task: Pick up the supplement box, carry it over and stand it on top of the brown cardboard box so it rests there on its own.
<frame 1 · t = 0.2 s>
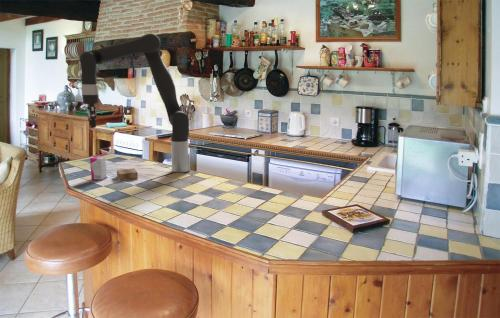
hand: (92, 126, 204), 27 cm above the counter, fingers open, 8 cm apart
supplement box: (99, 179, 210), on the counter
brown cardboard box: (127, 178, 213), on the counter
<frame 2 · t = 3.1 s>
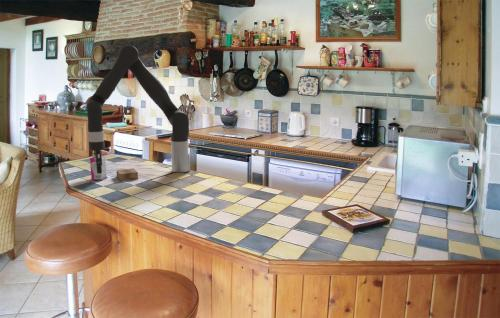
hand: (98, 171, 210), 4 cm above the counter, fingers closed on supplement box, 7 cm apart
supplement box: (99, 179, 210), on the counter, touching gripper
everything else where it was.
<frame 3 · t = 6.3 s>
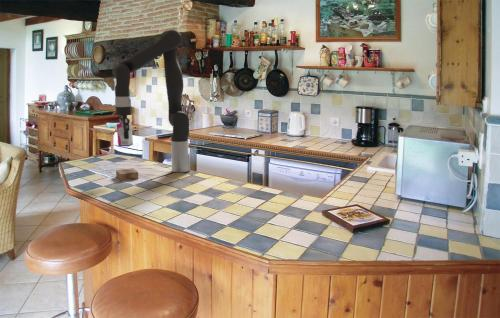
hand: (125, 137, 208), 21 cm above the counter, fingers closed on supplement box, 7 cm apart
supplement box: (125, 145, 209), point 17 cm above the counter, touching gripper
everything else where it was.
when the fingers open (10 cm above the counter, at t = 9.4 s): supplement box drops 2 cm, resting on brown cardboard box.
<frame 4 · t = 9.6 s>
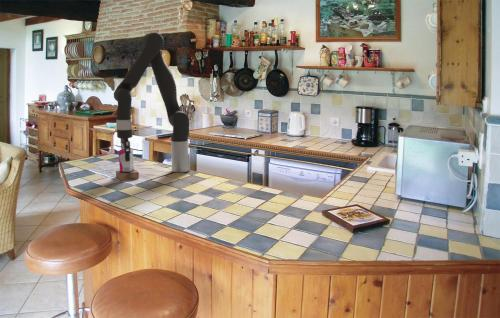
hand: (126, 159, 211), 10 cm above the counter, fingers open, 8 cm apart
supplement box: (127, 171, 213), point 3 cm above the counter, touching gripper, brown cardboard box
brown cardboard box: (127, 178, 213), on the counter, touching supplement box
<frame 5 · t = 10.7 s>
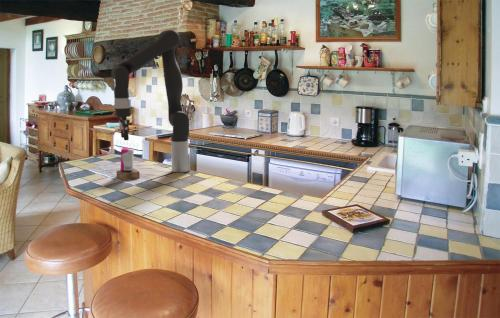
hand: (124, 138, 208), 21 cm above the counter, fingers open, 8 cm apart
supplement box: (126, 170, 214), point 4 cm above the counter, touching brown cardboard box
everything else where it was.
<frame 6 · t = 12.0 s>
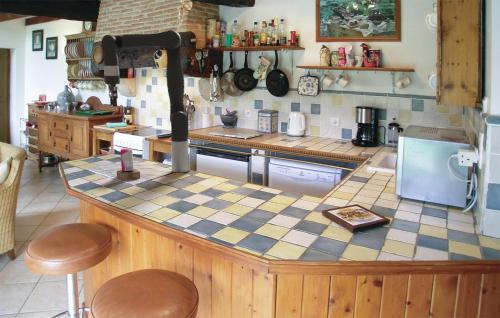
hand: (113, 105, 217), 36 cm above the counter, fingers open, 8 cm apart
supplement box: (127, 170, 214), point 3 cm above the counter
brown cardboard box: (128, 178, 214), on the counter
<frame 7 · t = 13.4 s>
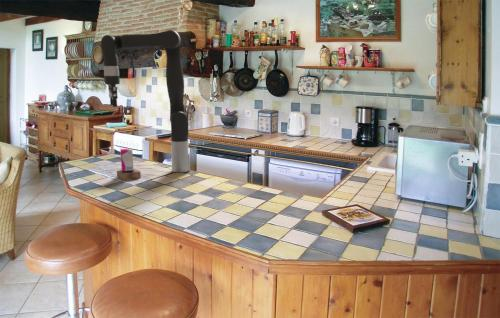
hand: (113, 106, 218), 36 cm above the counter, fingers open, 8 cm apart
supplement box: (127, 171, 213), point 3 cm above the counter, touching brown cardboard box
brown cardboard box: (128, 178, 213), on the counter, touching supplement box
at the end: supplement box inside the target area on the brown cardboard box (0.4 cm from its centre), point 3.9 cm above the brown cardboard box's base; supplement box tilted 3°; supplement box touching brown cardboard box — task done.
